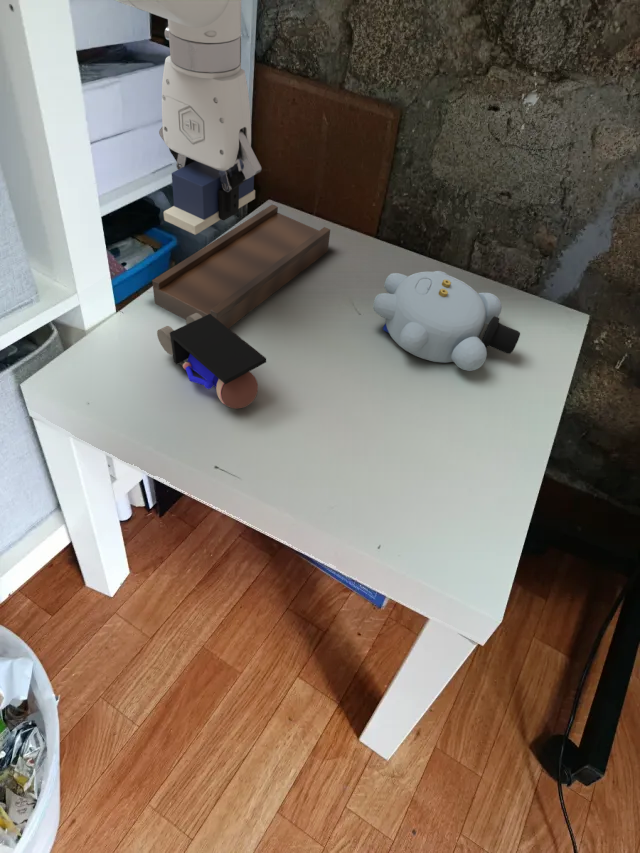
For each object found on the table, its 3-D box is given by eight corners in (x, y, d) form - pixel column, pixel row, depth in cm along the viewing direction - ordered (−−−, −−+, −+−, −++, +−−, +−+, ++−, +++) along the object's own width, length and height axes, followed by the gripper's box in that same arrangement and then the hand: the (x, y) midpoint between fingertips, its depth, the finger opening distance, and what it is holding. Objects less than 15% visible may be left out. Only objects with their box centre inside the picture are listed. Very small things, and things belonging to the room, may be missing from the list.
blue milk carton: (195, 235, 78) (193, 192, 73) (164, 220, 79) (160, 177, 75) (255, 198, 85) (256, 158, 81) (225, 185, 86) (224, 145, 82)
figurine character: (158, 368, 84) (228, 425, 76) (148, 319, 78) (223, 375, 71) (200, 348, 87) (271, 401, 79) (193, 300, 82) (269, 351, 74)
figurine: (352, 349, 87) (490, 407, 85) (368, 300, 81) (517, 361, 79) (389, 283, 99) (511, 333, 97) (405, 236, 92) (536, 288, 90)
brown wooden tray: (217, 337, 87) (217, 313, 84) (154, 303, 90) (151, 280, 87) (327, 251, 104) (330, 229, 101) (271, 226, 107) (272, 204, 104)
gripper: (121, 37, 69) (140, 195, 82) (248, 83, 63) (246, 244, 77) (169, 23, 73) (179, 175, 87) (291, 64, 68) (282, 220, 81)
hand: (210, 206), depth 82 cm, fingers closed on blue milk carton, 5 cm apart
